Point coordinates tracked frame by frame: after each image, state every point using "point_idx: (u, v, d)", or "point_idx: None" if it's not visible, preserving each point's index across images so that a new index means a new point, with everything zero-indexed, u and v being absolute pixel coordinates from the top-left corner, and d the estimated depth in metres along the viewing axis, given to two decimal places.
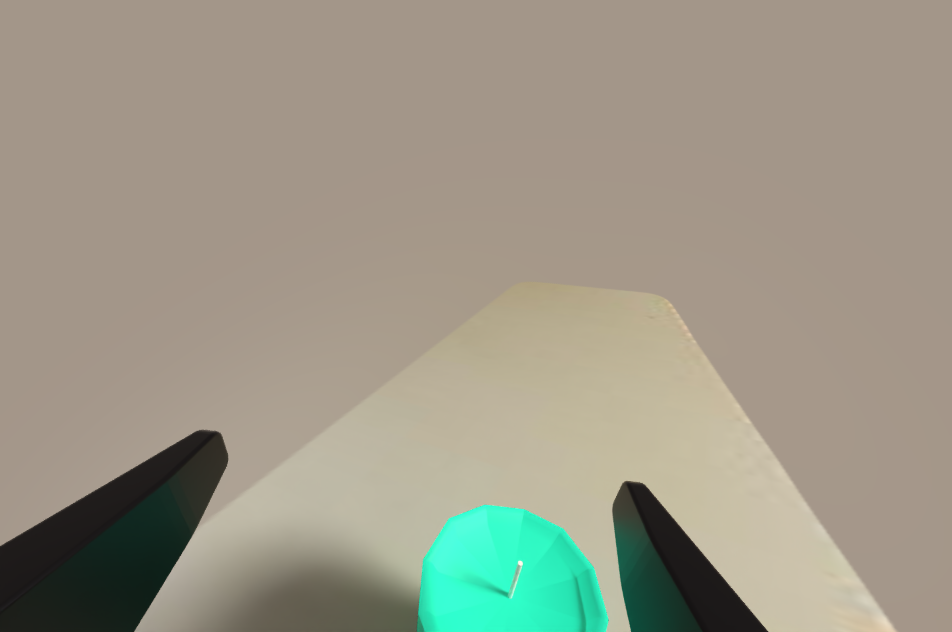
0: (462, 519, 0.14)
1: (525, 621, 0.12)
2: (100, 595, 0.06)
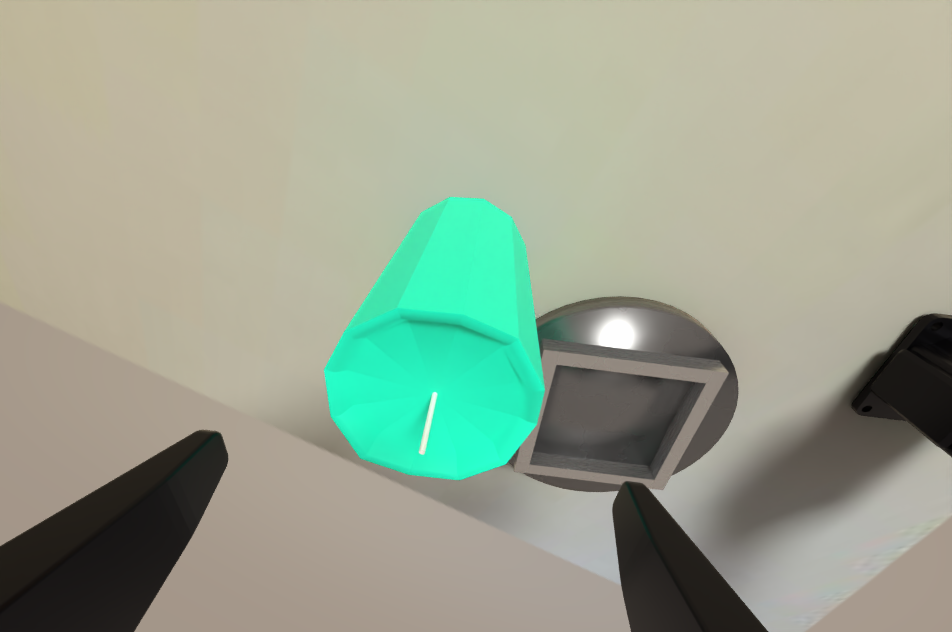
0: (358, 445, 0.11)
1: (460, 383, 0.11)
2: (100, 595, 0.06)
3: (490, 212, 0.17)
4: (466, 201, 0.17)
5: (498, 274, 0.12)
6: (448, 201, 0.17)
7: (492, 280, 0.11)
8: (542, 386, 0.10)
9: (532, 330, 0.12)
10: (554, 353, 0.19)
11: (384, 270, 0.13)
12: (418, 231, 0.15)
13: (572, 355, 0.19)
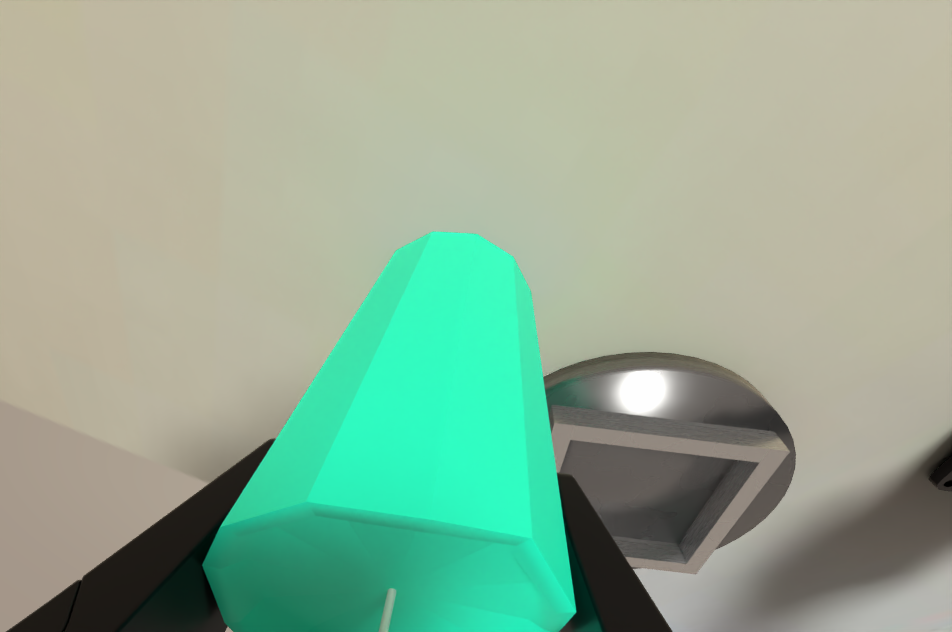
0: None
1: (431, 580, 0.06)
2: (197, 607, 0.06)
3: (485, 255, 0.13)
4: (454, 238, 0.13)
5: (495, 377, 0.08)
6: (430, 239, 0.13)
7: (486, 396, 0.07)
8: (572, 606, 0.06)
9: (549, 468, 0.08)
10: (568, 427, 0.15)
11: (324, 363, 0.08)
12: (384, 288, 0.11)
13: (591, 429, 0.15)
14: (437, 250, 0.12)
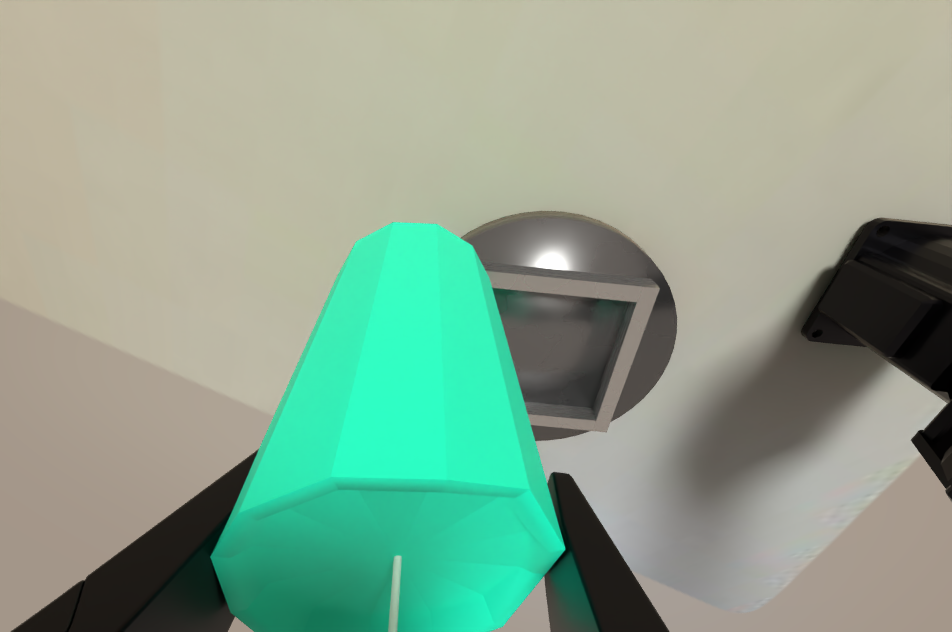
0: None
1: (436, 542, 0.07)
2: (200, 607, 0.06)
3: (448, 244, 0.13)
4: (415, 229, 0.14)
5: (477, 357, 0.08)
6: (392, 229, 0.13)
7: (473, 373, 0.08)
8: (561, 545, 0.07)
9: (529, 434, 0.08)
10: None
11: (308, 355, 0.09)
12: (355, 279, 0.11)
13: (488, 273, 0.18)
14: (402, 240, 0.13)
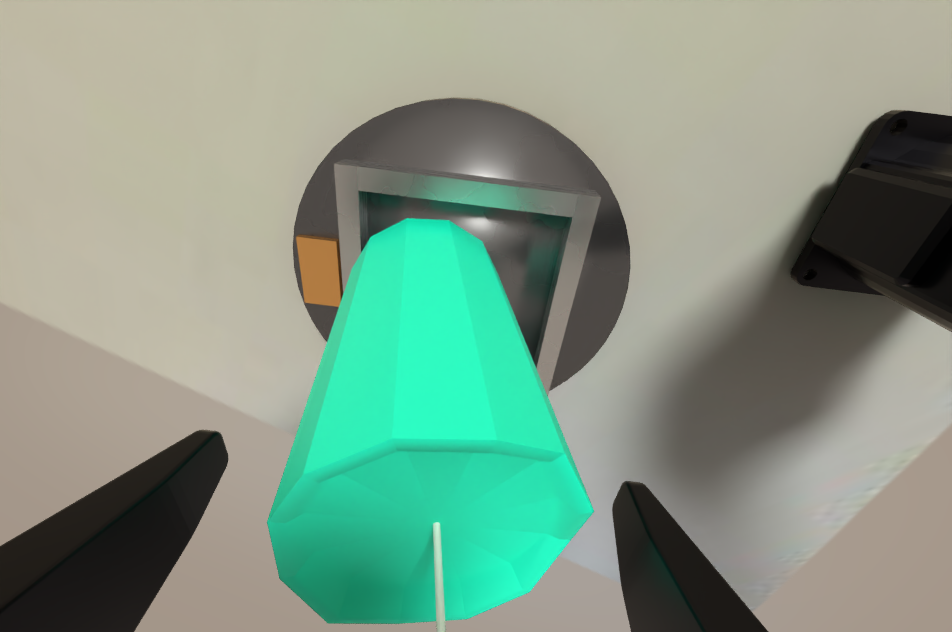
0: (325, 608, 0.08)
1: (472, 509, 0.08)
2: (100, 595, 0.06)
3: (461, 239, 0.14)
4: (429, 224, 0.14)
5: (503, 339, 0.09)
6: (407, 225, 0.14)
7: (503, 353, 0.08)
8: (591, 507, 0.07)
9: (552, 411, 0.09)
10: (350, 170, 0.13)
11: (342, 339, 0.09)
12: (377, 271, 0.11)
13: (376, 172, 0.13)
14: (418, 235, 0.13)
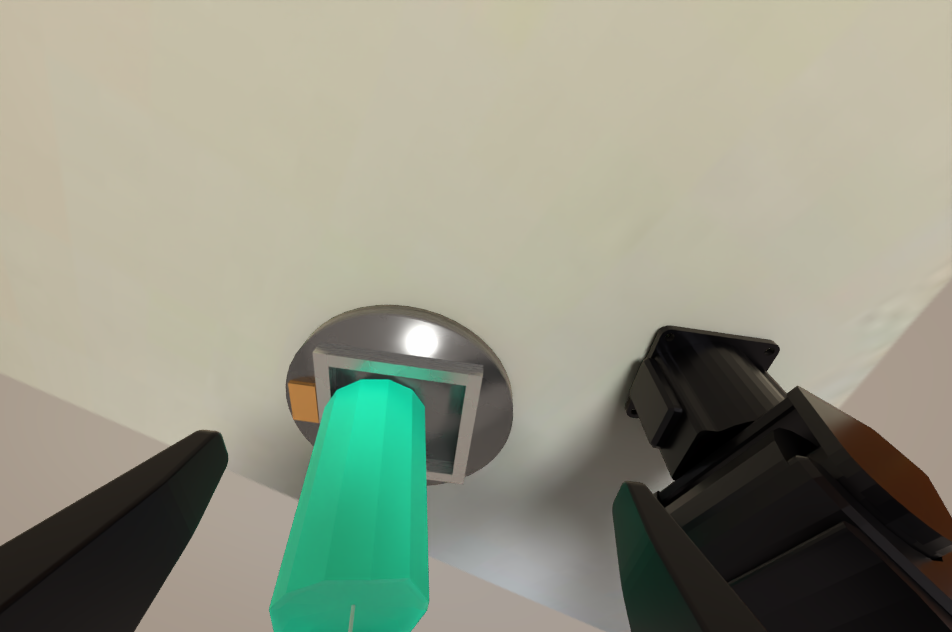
0: None
1: (371, 598, 0.15)
2: (100, 595, 0.06)
3: (394, 399, 0.21)
4: (374, 386, 0.22)
5: (397, 500, 0.17)
6: (359, 388, 0.21)
7: (393, 513, 0.16)
8: (427, 600, 0.15)
9: (423, 538, 0.17)
10: (323, 356, 0.21)
11: (310, 498, 0.17)
12: (335, 437, 0.19)
13: (339, 358, 0.21)
14: (365, 401, 0.21)
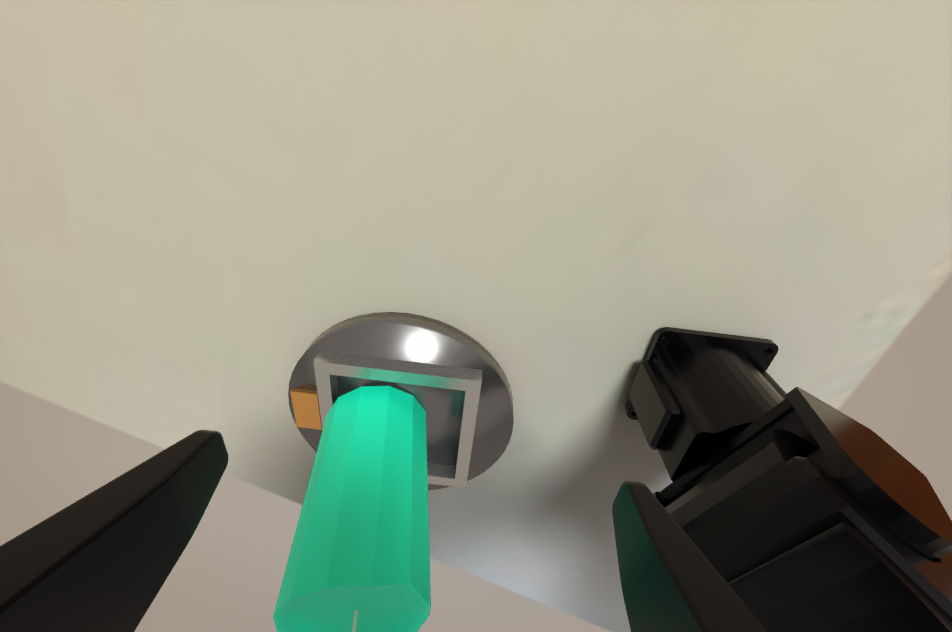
0: None
1: (373, 604, 0.15)
2: (100, 595, 0.06)
3: (394, 406, 0.22)
4: (375, 393, 0.22)
5: (398, 506, 0.17)
6: (360, 395, 0.22)
7: (394, 519, 0.16)
8: (428, 604, 0.15)
9: (424, 544, 0.17)
10: (323, 364, 0.21)
11: (312, 505, 0.17)
12: (337, 444, 0.19)
13: (340, 366, 0.21)
14: (365, 408, 0.21)
